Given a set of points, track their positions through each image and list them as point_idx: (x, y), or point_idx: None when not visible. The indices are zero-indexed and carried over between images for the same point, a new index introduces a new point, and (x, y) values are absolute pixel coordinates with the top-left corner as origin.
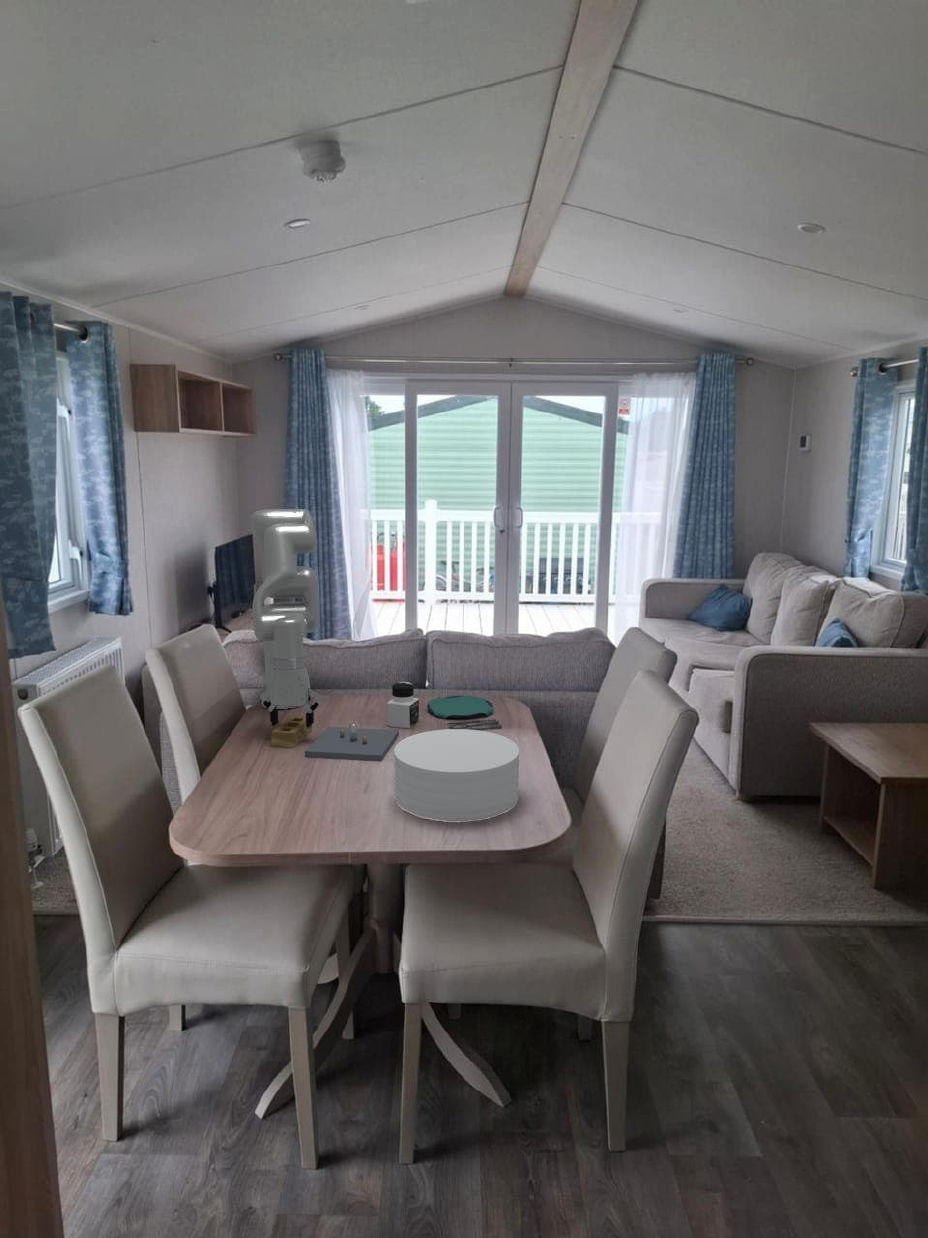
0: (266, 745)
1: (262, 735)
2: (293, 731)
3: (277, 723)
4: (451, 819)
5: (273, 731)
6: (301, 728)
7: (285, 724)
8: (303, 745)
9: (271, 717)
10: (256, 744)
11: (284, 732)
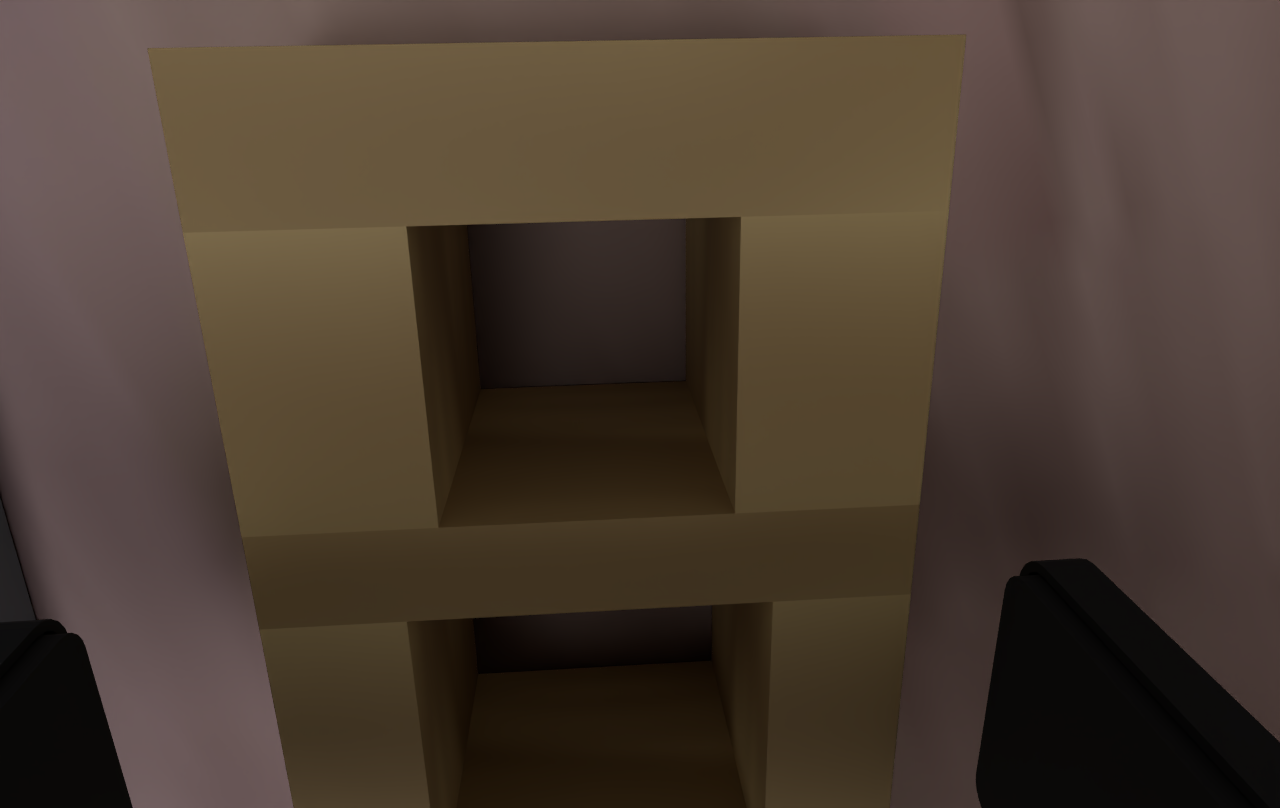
0: (963, 108)
1: (1165, 604)
2: (272, 221)
3: (982, 745)
4: None
5: (908, 106)
6: (278, 624)
7: (765, 733)
8: None
9: (1247, 713)
10: (1179, 131)
11: (518, 68)
